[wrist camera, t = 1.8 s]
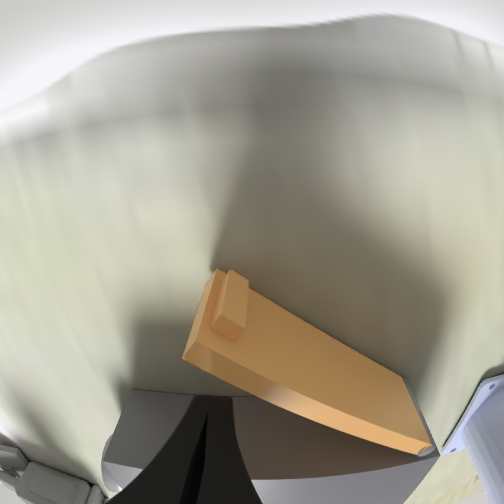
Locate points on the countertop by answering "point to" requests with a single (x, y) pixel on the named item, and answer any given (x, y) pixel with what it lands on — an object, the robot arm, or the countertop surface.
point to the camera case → (271, 453)
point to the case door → (301, 367)
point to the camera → (44, 482)
